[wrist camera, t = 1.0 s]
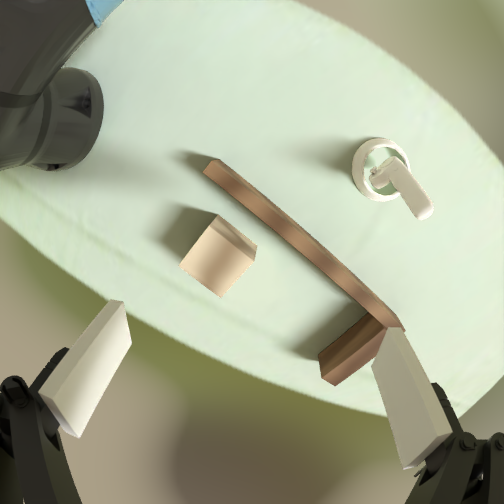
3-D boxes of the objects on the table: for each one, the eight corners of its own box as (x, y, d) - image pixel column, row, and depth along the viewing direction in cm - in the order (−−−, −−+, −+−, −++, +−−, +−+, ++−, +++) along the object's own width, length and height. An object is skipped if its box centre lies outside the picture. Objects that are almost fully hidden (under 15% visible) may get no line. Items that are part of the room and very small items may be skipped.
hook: (405, 260, 28) (386, 240, 23) (361, 187, 35) (334, 161, 30) (456, 222, 24) (448, 193, 20) (402, 154, 31) (381, 121, 27)
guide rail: (161, 238, 35) (144, 251, 30) (219, 159, 31) (209, 161, 26) (334, 366, 40) (339, 388, 36) (396, 314, 36) (408, 335, 32)
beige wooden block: (190, 250, 35) (178, 265, 31) (218, 214, 33) (208, 225, 29) (227, 278, 36) (220, 297, 32) (257, 245, 34) (254, 261, 30)
